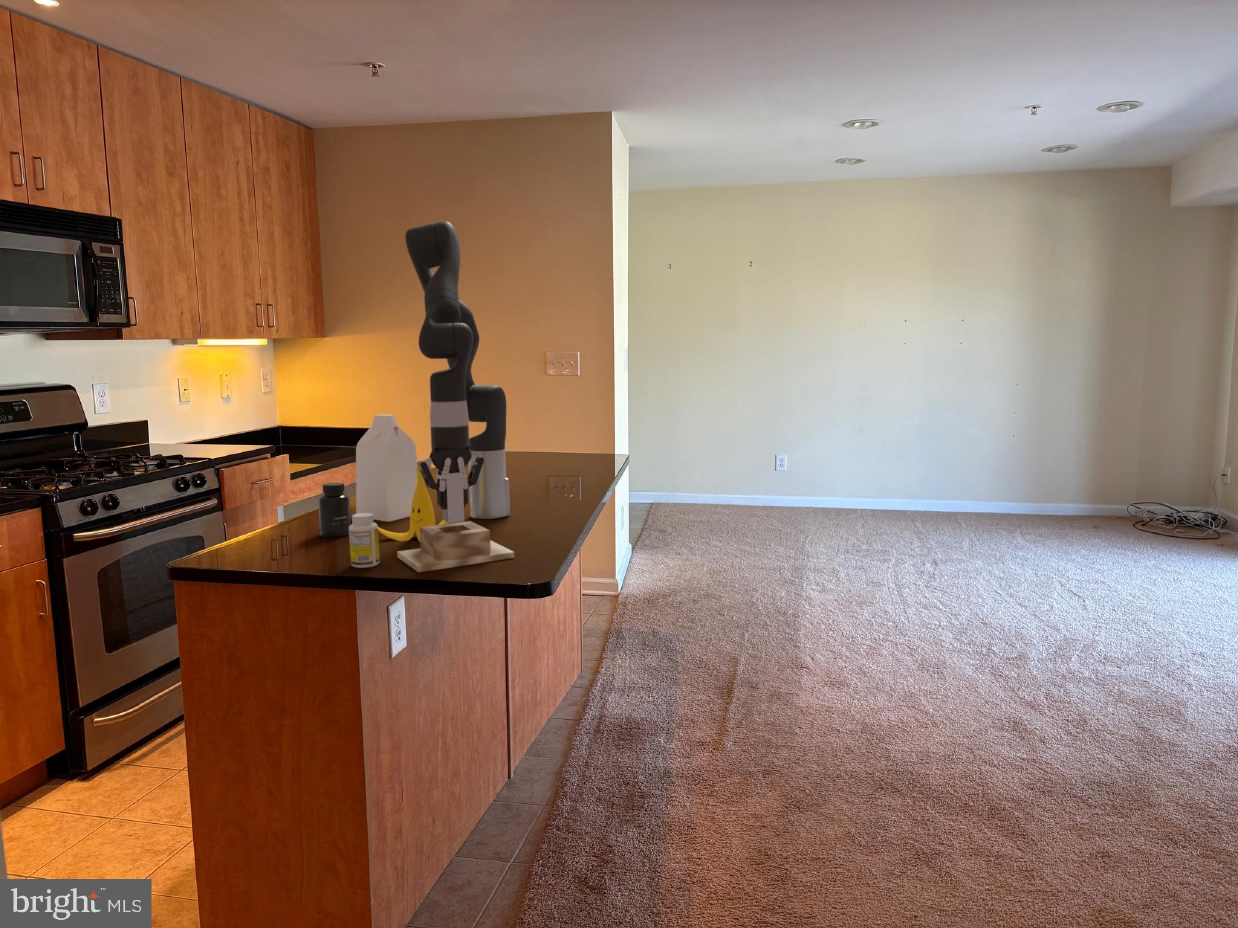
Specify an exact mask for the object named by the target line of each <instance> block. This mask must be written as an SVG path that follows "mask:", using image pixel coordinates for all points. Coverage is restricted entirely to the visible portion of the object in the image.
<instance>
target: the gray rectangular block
mask: <svg viewBox="0 0 1238 928" xmlns="http://www.w3.org/2000/svg"><path fill="white" fill-rule="evenodd" d="M445 491H446V503H447V509H445V510H443V509H441V510H442V512H441V513H442V520H444V521H446V522H448V523H449V524H451V523H459V522H465V507H464V497H463V472H461V473H460V472H455V473H449V474H446V487H445Z"/></svg>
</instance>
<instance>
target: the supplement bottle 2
mask: <svg viewBox="0 0 1238 928" xmlns="http://www.w3.org/2000/svg"><path fill="white" fill-rule="evenodd" d="M351 521H352V523H351V525H350V526H349V535H348V537H349V539H348V540H349V553H350V554H349V555H350V565H351V566H352V567H354V568H357V569H365V568H372V567H376V566H378V564H380V562H381V561H380V560H381V558H380V557H381V554H380V543H379V541H380V539H379V531H378V527H379V525H378V524H377V523H376V522H374V519H373V514H371V513H358V514H356V513H355V514H353V515H352V516H351Z"/></svg>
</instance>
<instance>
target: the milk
mask: <svg viewBox="0 0 1238 928" xmlns="http://www.w3.org/2000/svg"><path fill="white" fill-rule="evenodd" d="M417 463H418V458H417V447H416V443H415V441H414V440H413V439H412V438H411V437H410V436H409V435H408V434H407V433H406V432H405V431H404V430H403V429H402V428H401V427H400V426H399V424H398V422H397V418H396V416H395V415H393V414H374V416H373V419H372V423H371V426H370V427H369V428H368V430H367V431H366V432H365V433H364V434H363V435H362V437H360V439H359V441H358V442H357V444H356V447H355V479H356V481H355V483H356V484H355V490H356V491H355V492H356V493H355V494H356V495H355V497H356V498H355V506H356V508H355V509H356V510H355V511H356V512H355V514H358V513H371V514H373V521H374V520H376V521H381V522H393V521H397V520H400V519H402V520H403V519H404V518H405V519H406V518H410V511H411V505H412V500H413V496H414V493H415V490H416V487H417V471H416V467H417V466H418V465H417Z"/></svg>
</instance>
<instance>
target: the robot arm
mask: <svg viewBox="0 0 1238 928" xmlns="http://www.w3.org/2000/svg"><path fill="white" fill-rule="evenodd" d="M404 237H405V239H404V240H405V245H406V249H407V251H408V256H409V258H410V260H411V263H412V264H413V268H414V270H415V272H416V275H417V277H418V280H419V282H420V284H421V287H422V289H423V292H424V295H423V297H424V311H425V315H424V316H425V318H424V320H423V323H422V326H421V328H420V331H419V335H418V347H419V348H418V349H419V350H420V352H421V354H422V355H423V356H424V357H426V358H428V359H431V360H439V359H440V360H443V359H444V360H446V361H447V364H448V367H449V368H446V369H444V370H437V371H435V372H432V374H430V378H429V388H430V389H429V391H430V392H429V393H430V394H429V395H430V408H429V422H430V424H429V425H430V444H431V445H430V446H431V451H430V454H429V457H428V458H426V459H423V460H417V465H418V467H419V470H420V472H421V474H422V476H423V478H424V483H425V486H426V488H429V489H431V490H435V491H436V504H437V506H438V507H440V508H439V509H441V510H442V509H443V510H445V509H447V503H446V491H445V487H446V474H449V473H455V472H460V473H461V472H463V497H464V508H466V507H467V506H466V505H468V503H469V504H470V508H469V509H470V517H471V518H472V519H479V520H492V519H499V518H504V517H507V516H510V515H511V504H510V480H509V478H508V477H507V475H506V473H507V470H506V468H507V467H506V439H507V438H506V437H507V396H506V393H505V391H504V388H502V387H501V386H499V385H476V384H475V382H474V379H473V378H474V377H473V374H472V366H473V362H474V360H475V358H476V354H477V352H478V348H479V345H480V334H479V330H478V327H477V324H476V320H475V316H474V314H473V312H472V310H471V309H470V308H469V307H468V306H467V305H466V304H465V303H464V302H463V301H462V300H460V297H459V280H460V279H459V278H460V269H461V246H460V242H459V238H458V235H457V232H456V230H455V227H454V226H453V224H452V223H451V222H449V221H436V222H431V223H429V224H424V225H418V226H416V227H415V226H414V227H411V228H408V229H407V230H406V232H405V236H404ZM437 267H438V268H437ZM432 268H433V269H434V268H437V269H436V270H435V271H436V272H433V269H432ZM469 422H471V423H485V424H486V425H485V430H484V431H483V432H481V433H479V434H477V435H474V436H472V437H470V429H469ZM432 464H433V466H434V467H435V468H436V470H437V471H436V477H435V478H436V481H435V479H434V477H433V475H432V473H431V471H430V470H431V469H432ZM467 466H468V476H467V472H466V467H467Z"/></svg>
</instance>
